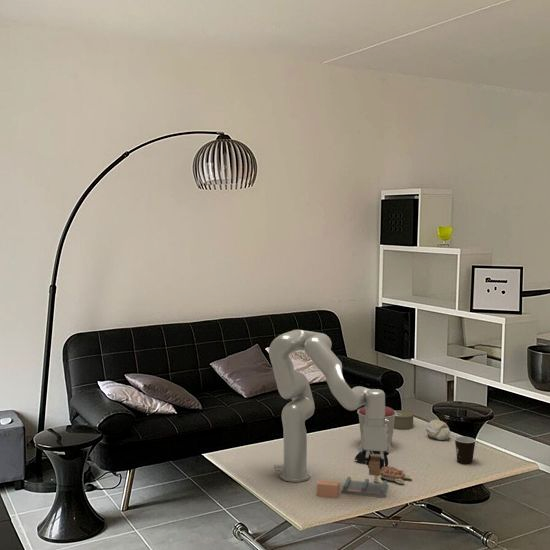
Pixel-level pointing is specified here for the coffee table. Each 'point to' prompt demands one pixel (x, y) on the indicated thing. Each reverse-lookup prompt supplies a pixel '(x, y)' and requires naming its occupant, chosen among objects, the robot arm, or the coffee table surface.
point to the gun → (362, 458)
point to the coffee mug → (464, 450)
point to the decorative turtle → (391, 475)
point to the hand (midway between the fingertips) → (375, 466)
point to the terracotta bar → (328, 489)
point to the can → (403, 420)
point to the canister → (388, 415)
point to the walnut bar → (374, 464)
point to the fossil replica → (438, 430)
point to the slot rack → (365, 488)
